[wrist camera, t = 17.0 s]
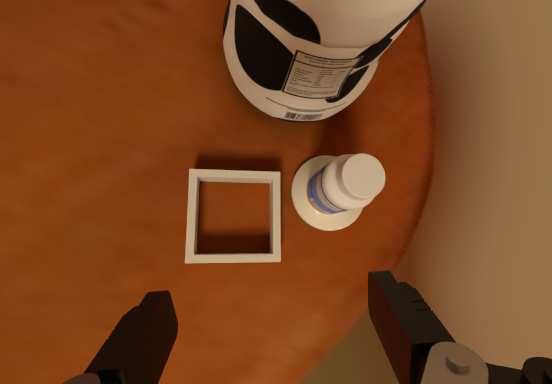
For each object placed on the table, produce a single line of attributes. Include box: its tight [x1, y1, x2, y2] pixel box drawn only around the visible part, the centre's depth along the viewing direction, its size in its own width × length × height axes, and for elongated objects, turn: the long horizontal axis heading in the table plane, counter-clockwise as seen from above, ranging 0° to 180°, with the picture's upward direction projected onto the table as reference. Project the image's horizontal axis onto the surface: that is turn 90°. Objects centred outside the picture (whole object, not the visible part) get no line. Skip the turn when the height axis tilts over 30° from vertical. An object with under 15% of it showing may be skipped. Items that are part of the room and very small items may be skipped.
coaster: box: [291, 155, 363, 231], centre depth 34 cm, size 9×9×1 cm
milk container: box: [223, 0, 426, 123], centre depth 28 cm, size 17×17×18 cm
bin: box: [185, 169, 281, 263], centre depth 31 cm, size 10×10×2 cm
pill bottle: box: [306, 153, 385, 215], centre depth 29 cm, size 5×5×10 cm
